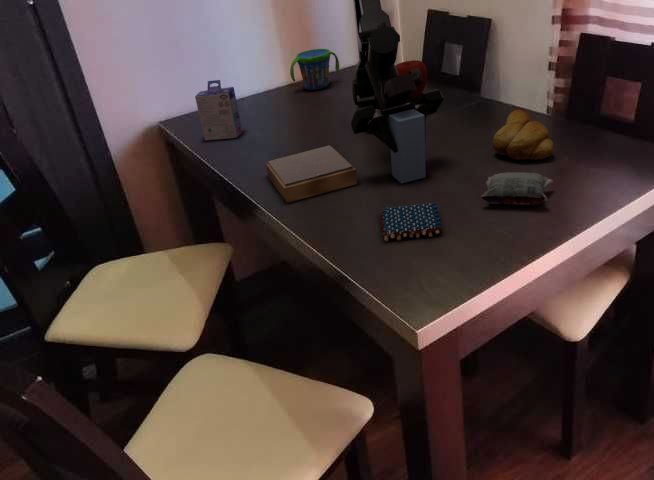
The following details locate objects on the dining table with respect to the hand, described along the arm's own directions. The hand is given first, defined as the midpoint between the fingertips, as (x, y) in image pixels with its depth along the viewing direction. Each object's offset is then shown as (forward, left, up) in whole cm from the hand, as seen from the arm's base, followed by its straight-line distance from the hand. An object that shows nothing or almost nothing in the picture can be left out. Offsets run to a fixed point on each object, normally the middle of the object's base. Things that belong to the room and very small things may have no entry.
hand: (410, 148), depth 128 cm
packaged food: (-12, +20, -7) cm, 24 cm away
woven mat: (+9, +19, -7) cm, 22 cm away
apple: (-22, -49, -7) cm, 54 cm away
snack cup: (-5, -81, -7) cm, 81 cm away
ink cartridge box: (+30, -57, -7) cm, 65 cm away
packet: (0, -1, -7) cm, 7 cm away
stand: (+18, -12, -7) cm, 23 cm away
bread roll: (-24, +3, -7) cm, 25 cm away
